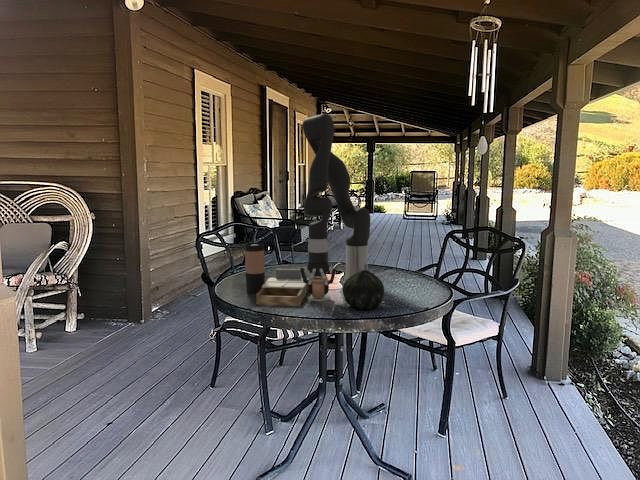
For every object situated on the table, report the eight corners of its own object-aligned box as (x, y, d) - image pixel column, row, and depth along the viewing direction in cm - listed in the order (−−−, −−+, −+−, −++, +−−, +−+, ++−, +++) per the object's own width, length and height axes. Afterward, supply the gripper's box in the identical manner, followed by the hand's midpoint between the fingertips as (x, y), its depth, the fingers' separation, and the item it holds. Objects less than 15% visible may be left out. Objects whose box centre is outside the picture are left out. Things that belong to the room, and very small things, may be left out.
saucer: (331, 296, 197) (331, 294, 197) (329, 303, 189) (329, 301, 188) (308, 296, 198) (308, 294, 198) (305, 302, 190) (305, 300, 189)
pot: (326, 294, 196) (326, 276, 195) (325, 298, 190) (325, 279, 189) (311, 293, 196) (311, 276, 195) (310, 297, 191) (309, 279, 190)
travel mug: (242, 294, 202) (241, 245, 199) (251, 289, 209) (250, 242, 206) (259, 296, 199) (258, 246, 196) (268, 291, 206) (267, 243, 203)
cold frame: (308, 291, 206) (308, 280, 206) (299, 307, 183) (299, 295, 182) (270, 290, 208) (269, 279, 207) (256, 306, 184) (256, 294, 184)
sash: (308, 279, 205) (308, 269, 205) (303, 288, 191) (303, 277, 190) (269, 279, 207) (269, 268, 206) (261, 287, 193) (261, 276, 192)
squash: (362, 284, 195) (348, 259, 185) (396, 291, 186) (382, 266, 176) (345, 314, 189) (329, 290, 179) (379, 323, 179) (364, 298, 170)
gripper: (337, 248, 193) (337, 291, 196) (300, 248, 195) (301, 291, 198) (336, 252, 186) (336, 297, 189) (297, 251, 188) (298, 296, 190)
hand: (318, 293), depth 193 cm, fingers closed on pot, 5 cm apart
